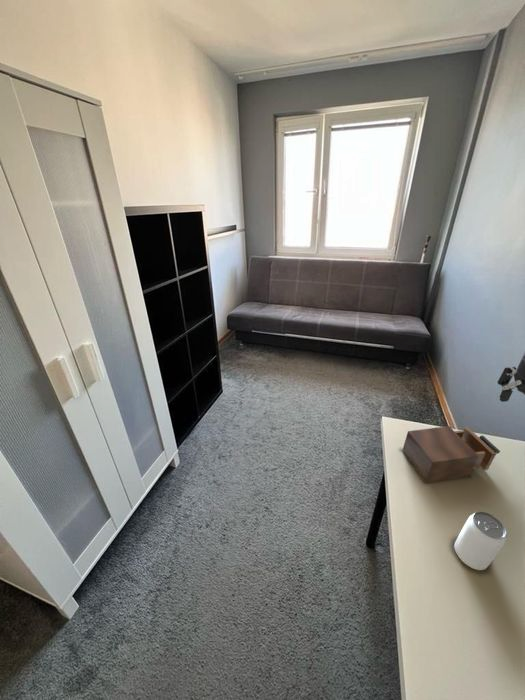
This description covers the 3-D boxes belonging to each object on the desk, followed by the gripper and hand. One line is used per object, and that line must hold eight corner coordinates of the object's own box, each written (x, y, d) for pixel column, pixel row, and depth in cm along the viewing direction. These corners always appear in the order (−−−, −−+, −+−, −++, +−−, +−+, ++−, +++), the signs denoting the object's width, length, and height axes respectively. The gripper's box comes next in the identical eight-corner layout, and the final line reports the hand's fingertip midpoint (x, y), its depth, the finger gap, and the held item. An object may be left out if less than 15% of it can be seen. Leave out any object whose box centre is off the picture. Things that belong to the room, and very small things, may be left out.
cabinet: (441, 445, 91) (449, 425, 87) (468, 476, 81) (478, 456, 76) (402, 450, 89) (407, 431, 85) (424, 482, 79) (432, 462, 75)
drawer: (473, 441, 91) (480, 425, 87) (501, 468, 82) (510, 451, 78) (425, 447, 89) (430, 431, 86) (448, 475, 80) (455, 459, 77)
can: (448, 538, 66) (463, 509, 61) (475, 539, 66) (494, 509, 60) (464, 570, 61) (483, 541, 55) (495, 571, 60) (517, 541, 55)
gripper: (587, 375, 64) (555, 426, 72) (528, 346, 77) (506, 393, 85) (558, 378, 64) (528, 430, 72) (503, 349, 76) (483, 396, 84)
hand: (516, 410), depth 78 cm, fingers open, 8 cm apart
